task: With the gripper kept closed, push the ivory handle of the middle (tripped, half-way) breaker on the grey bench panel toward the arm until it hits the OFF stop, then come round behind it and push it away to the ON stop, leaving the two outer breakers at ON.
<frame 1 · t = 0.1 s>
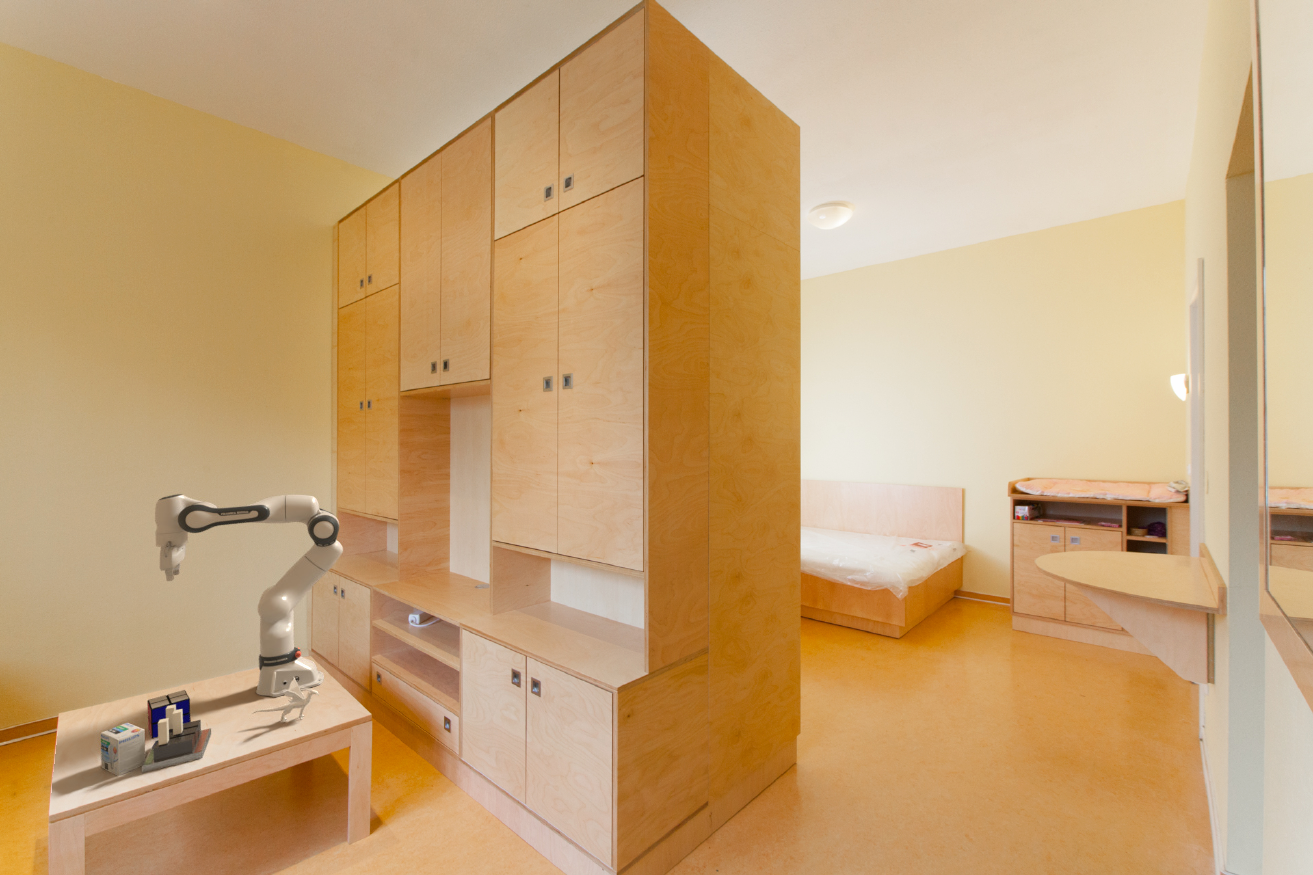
hand: (173, 577, 204), 48 cm above the table, fingers open, 8 cm apart
tripped handle: (177, 721, 177), point 10 cm above the table, slide at 2.5 cm
handle a: (171, 717, 180), point 10 cm above the table, slide at 5.0 cm
puzzle cube: (169, 728, 192), on the table
dragon: (286, 720, 195), on the table
light bulb box: (123, 766, 170), on the table
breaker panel: (178, 752, 177), on the table
handle c: (163, 731, 171), point 10 cm above the table, slide at 5.0 cm
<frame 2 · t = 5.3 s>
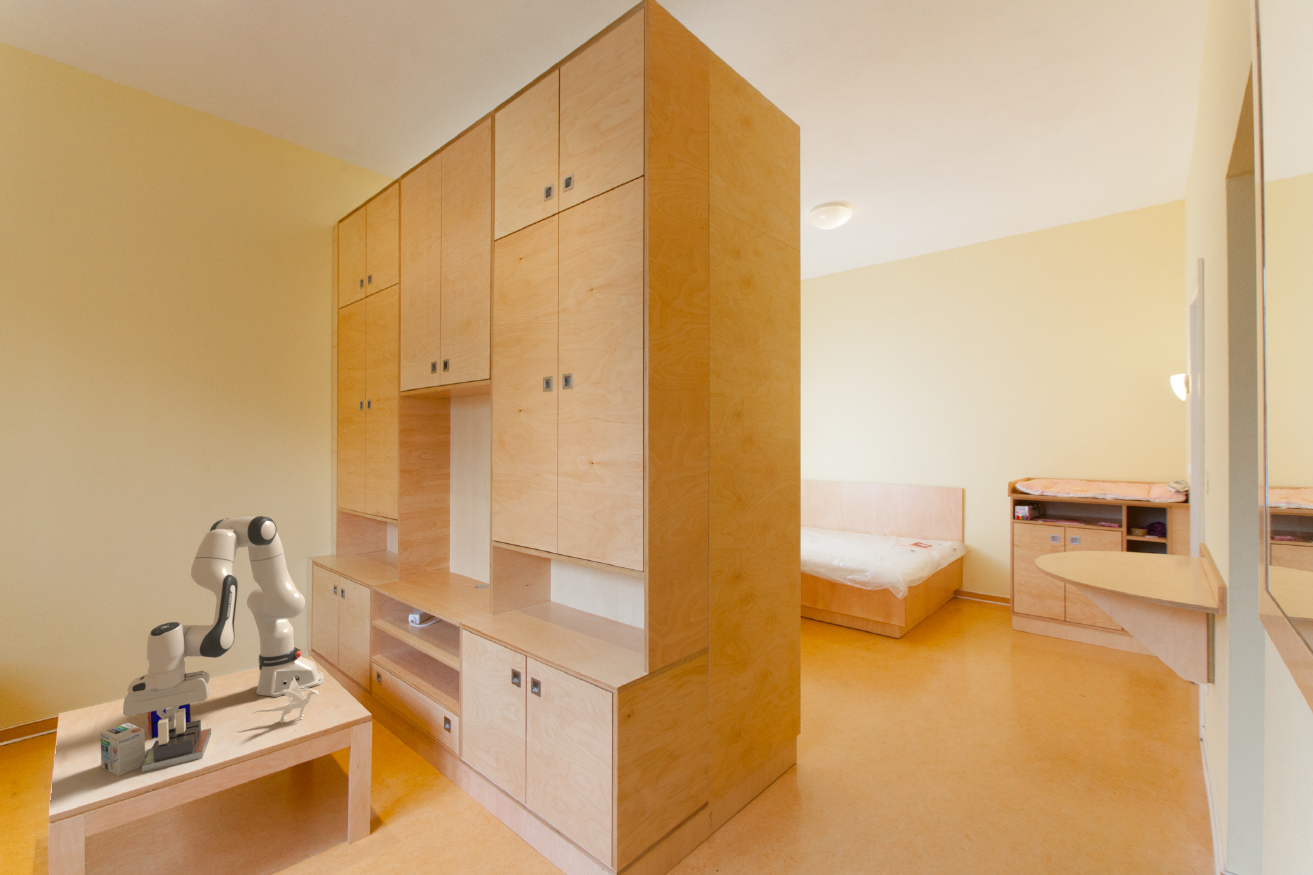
hand: (168, 721, 176), 10 cm above the table, fingers closed
tripped handle: (180, 721, 177), point 10 cm above the table, slide at 1.8 cm, touching gripper
everything else where it was.
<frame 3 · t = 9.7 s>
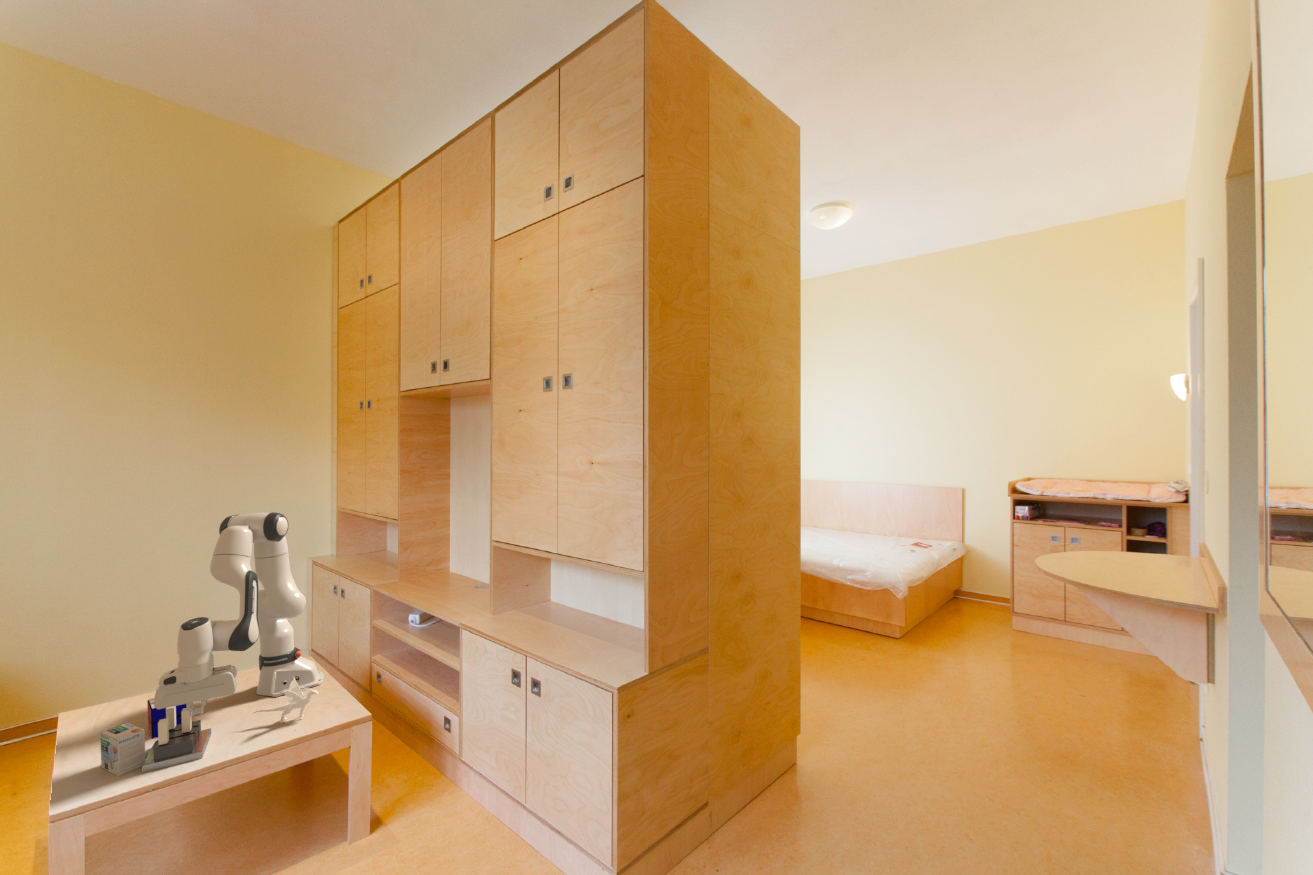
hand: (197, 714, 179), 11 cm above the table, fingers closed
tripped handle: (186, 719, 178), point 10 cm above the table, slide at 0.4 cm, touching gripper
everything else where it was.
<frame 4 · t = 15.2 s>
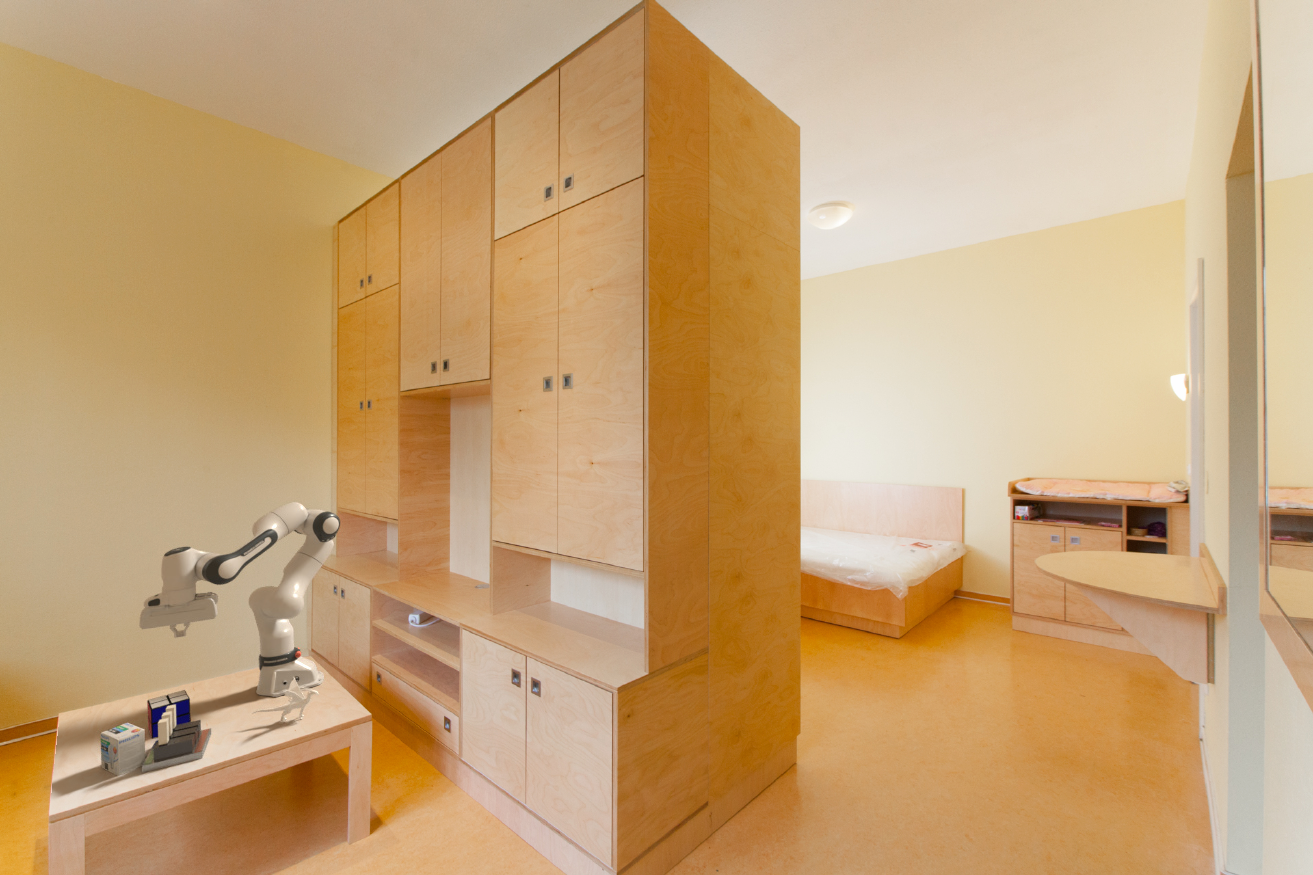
hand: (180, 636, 191), 31 cm above the table, fingers closed
tripped handle: (167, 724, 175), point 10 cm above the table, slide at 5.1 cm
everything else where it was.
at the end: tripped handle slide at 5.1 cm; handle a slide at 5.0 cm; handle c slide at 5.0 cm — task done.
